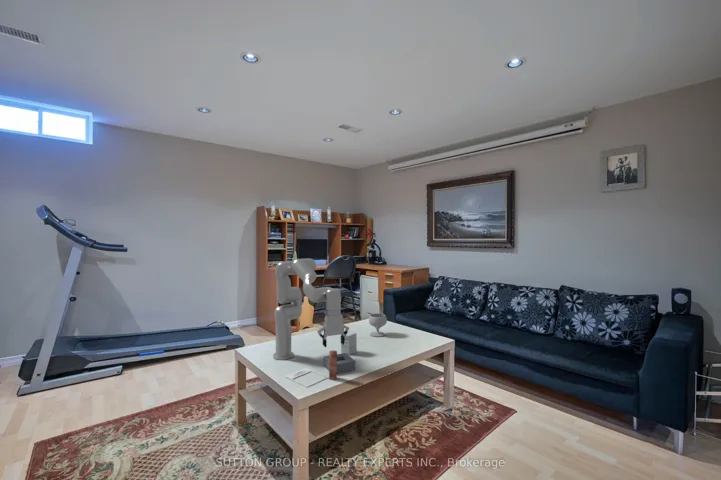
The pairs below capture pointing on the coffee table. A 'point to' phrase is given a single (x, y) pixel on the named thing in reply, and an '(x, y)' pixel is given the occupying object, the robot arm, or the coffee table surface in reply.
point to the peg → (333, 365)
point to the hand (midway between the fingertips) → (333, 345)
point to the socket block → (342, 363)
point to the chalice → (377, 323)
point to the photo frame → (303, 372)
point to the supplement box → (349, 343)
